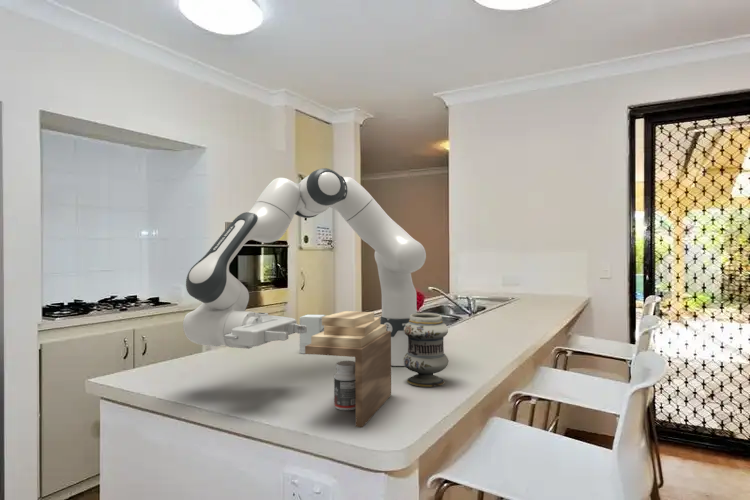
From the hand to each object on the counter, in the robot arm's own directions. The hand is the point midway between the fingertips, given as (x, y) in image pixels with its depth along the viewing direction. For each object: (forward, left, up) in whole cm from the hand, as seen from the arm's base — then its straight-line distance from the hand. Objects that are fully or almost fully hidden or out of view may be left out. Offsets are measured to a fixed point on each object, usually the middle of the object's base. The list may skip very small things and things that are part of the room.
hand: (296, 332), depth 112 cm
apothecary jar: (-33, +13, -16) cm, 39 cm away
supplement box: (-39, -39, -16) cm, 57 cm away
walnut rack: (-6, +12, -16) cm, 21 cm away
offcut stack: (-6, +12, -1) cm, 14 cm away
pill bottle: (-5, +11, -16) cm, 21 cm away
